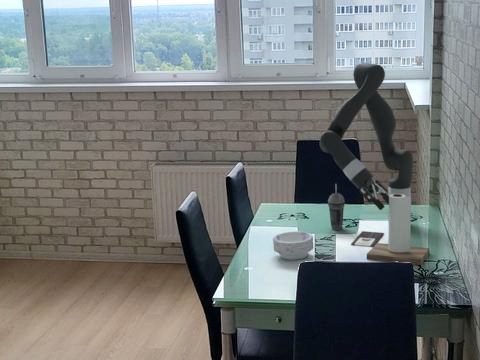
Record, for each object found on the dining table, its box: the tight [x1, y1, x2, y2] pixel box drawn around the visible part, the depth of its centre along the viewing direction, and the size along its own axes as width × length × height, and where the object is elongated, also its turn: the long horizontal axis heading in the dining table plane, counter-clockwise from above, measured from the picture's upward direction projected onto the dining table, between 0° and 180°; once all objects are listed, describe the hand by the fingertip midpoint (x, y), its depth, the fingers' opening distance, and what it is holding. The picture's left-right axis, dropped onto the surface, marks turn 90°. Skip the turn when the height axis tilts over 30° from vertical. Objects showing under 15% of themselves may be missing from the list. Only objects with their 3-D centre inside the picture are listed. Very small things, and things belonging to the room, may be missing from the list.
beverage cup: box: [327, 183, 346, 231], centre depth 301 cm, size 7×7×20 cm
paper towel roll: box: [387, 194, 412, 253], centre depth 261 cm, size 7×6×21 cm
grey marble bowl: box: [272, 231, 314, 261], centre depth 269 cm, size 15×15×8 cm
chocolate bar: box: [350, 230, 385, 248], centre depth 286 cm, size 9×1×18 cm
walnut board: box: [366, 242, 431, 266], centre depth 264 cm, size 14×20×2 cm
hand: (387, 205), depth 262 cm, fingers open, 8 cm apart
